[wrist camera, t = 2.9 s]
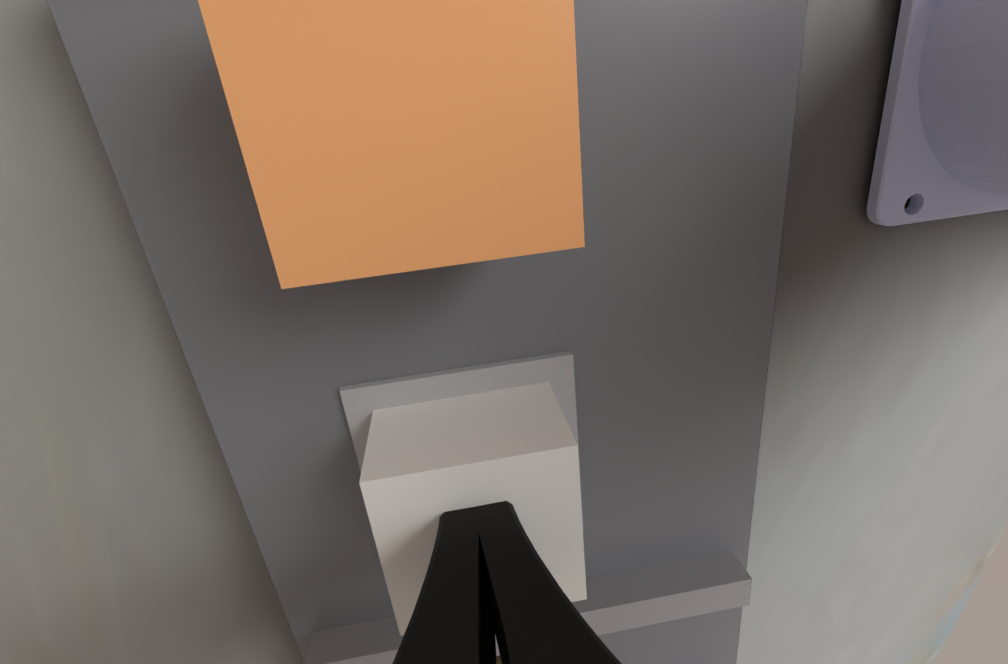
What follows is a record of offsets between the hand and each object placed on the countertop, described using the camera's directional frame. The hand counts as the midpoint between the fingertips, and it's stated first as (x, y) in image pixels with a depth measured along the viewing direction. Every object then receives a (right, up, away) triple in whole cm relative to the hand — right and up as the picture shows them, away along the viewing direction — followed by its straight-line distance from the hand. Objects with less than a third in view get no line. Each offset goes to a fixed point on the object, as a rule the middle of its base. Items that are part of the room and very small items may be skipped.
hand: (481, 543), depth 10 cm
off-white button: (0, +1, +2) cm, 2 cm away
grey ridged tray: (+1, +1, +5) cm, 5 cm away
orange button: (-1, +8, -2) cm, 8 cm away
